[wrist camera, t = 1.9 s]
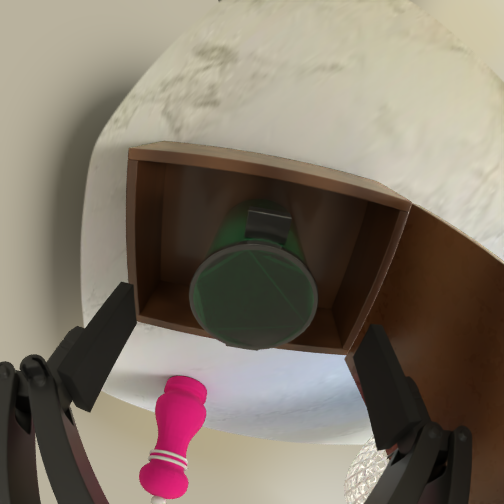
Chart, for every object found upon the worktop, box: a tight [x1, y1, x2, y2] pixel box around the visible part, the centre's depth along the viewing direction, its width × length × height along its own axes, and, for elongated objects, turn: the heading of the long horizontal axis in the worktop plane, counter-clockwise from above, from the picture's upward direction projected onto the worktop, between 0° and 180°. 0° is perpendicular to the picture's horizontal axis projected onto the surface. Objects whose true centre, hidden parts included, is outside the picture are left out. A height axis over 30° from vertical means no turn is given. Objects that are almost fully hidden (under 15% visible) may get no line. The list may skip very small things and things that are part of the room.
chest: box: [126, 141, 412, 355], centre depth 22 cm, size 20×15×7 cm
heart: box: [344, 435, 388, 504], centre depth 26 cm, size 28×16×22 cm, turn 107°
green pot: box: [189, 199, 319, 351], centre depth 20 cm, size 10×8×10 cm
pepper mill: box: [139, 376, 207, 504], centre depth 28 cm, size 7×7×20 cm
